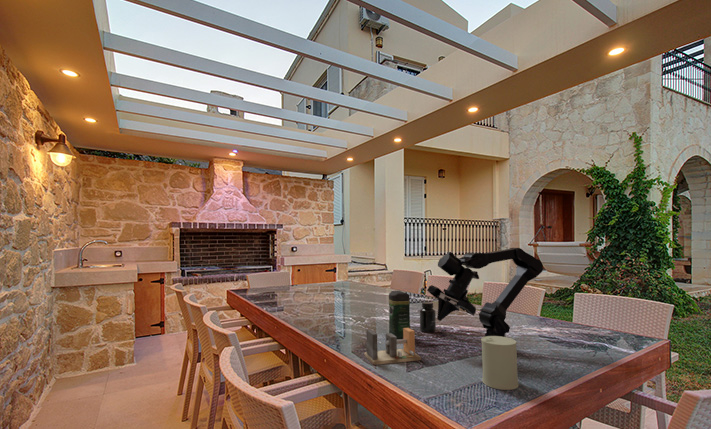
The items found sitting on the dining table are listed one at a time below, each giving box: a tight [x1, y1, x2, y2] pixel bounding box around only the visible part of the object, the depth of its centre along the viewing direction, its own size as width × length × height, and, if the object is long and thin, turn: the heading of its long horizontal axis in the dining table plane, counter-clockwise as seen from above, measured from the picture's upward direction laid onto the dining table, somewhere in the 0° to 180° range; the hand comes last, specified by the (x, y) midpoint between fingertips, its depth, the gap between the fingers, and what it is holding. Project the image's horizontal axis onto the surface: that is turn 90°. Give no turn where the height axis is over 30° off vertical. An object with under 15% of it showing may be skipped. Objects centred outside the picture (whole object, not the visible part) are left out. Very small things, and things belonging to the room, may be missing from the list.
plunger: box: [385, 327, 416, 355], centre depth 118 cm, size 9×8×8 cm
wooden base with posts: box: [363, 328, 422, 366], centre depth 119 cm, size 16×10×9 cm, turn 105°
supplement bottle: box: [419, 301, 437, 333], centre depth 155 cm, size 7×7×12 cm
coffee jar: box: [388, 290, 411, 340], centre depth 146 cm, size 10×8×19 cm
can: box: [480, 336, 520, 391], centre depth 97 cm, size 9×9×12 cm
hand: (438, 320), depth 124 cm, fingers closed
